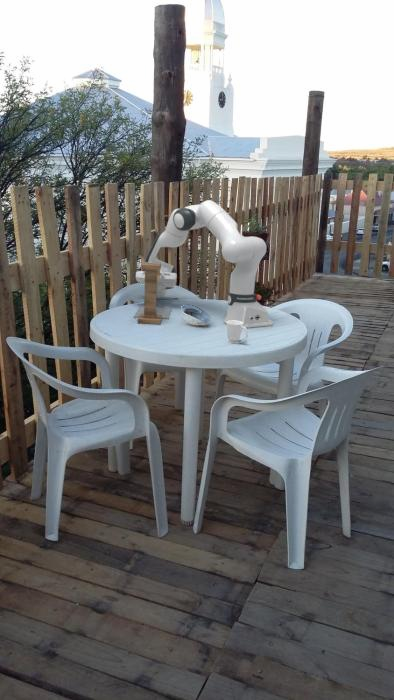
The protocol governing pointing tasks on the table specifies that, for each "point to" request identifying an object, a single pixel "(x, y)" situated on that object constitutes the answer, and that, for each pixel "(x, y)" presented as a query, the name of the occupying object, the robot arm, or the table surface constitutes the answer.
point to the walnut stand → (150, 294)
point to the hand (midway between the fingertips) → (155, 271)
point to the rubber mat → (159, 311)
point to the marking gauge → (158, 275)
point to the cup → (235, 331)
